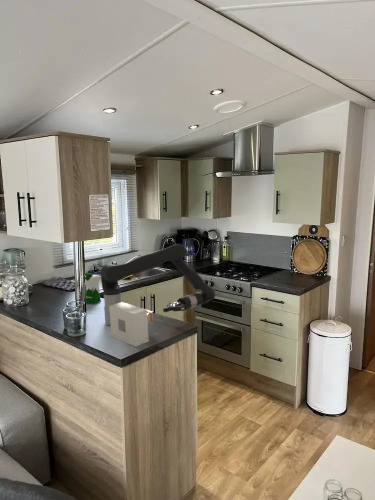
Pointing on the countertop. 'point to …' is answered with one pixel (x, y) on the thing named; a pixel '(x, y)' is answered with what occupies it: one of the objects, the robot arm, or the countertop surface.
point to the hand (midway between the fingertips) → (164, 310)
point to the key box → (129, 323)
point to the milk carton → (92, 288)
